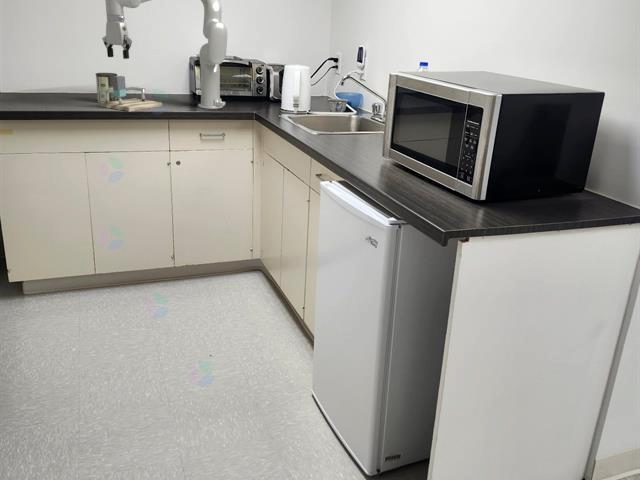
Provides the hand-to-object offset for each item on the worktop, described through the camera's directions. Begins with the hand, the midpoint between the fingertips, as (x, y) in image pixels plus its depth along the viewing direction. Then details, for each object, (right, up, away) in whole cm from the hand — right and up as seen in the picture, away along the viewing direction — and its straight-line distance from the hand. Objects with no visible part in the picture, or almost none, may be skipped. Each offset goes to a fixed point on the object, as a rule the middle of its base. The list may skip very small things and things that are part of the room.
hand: (118, 57), depth 275 cm
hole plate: (+2, -20, +15) cm, 25 cm away
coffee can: (-13, -15, +24) cm, 31 cm away
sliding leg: (-2, -20, +7) cm, 21 cm away
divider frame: (-1, -17, +15) cm, 23 cm away
